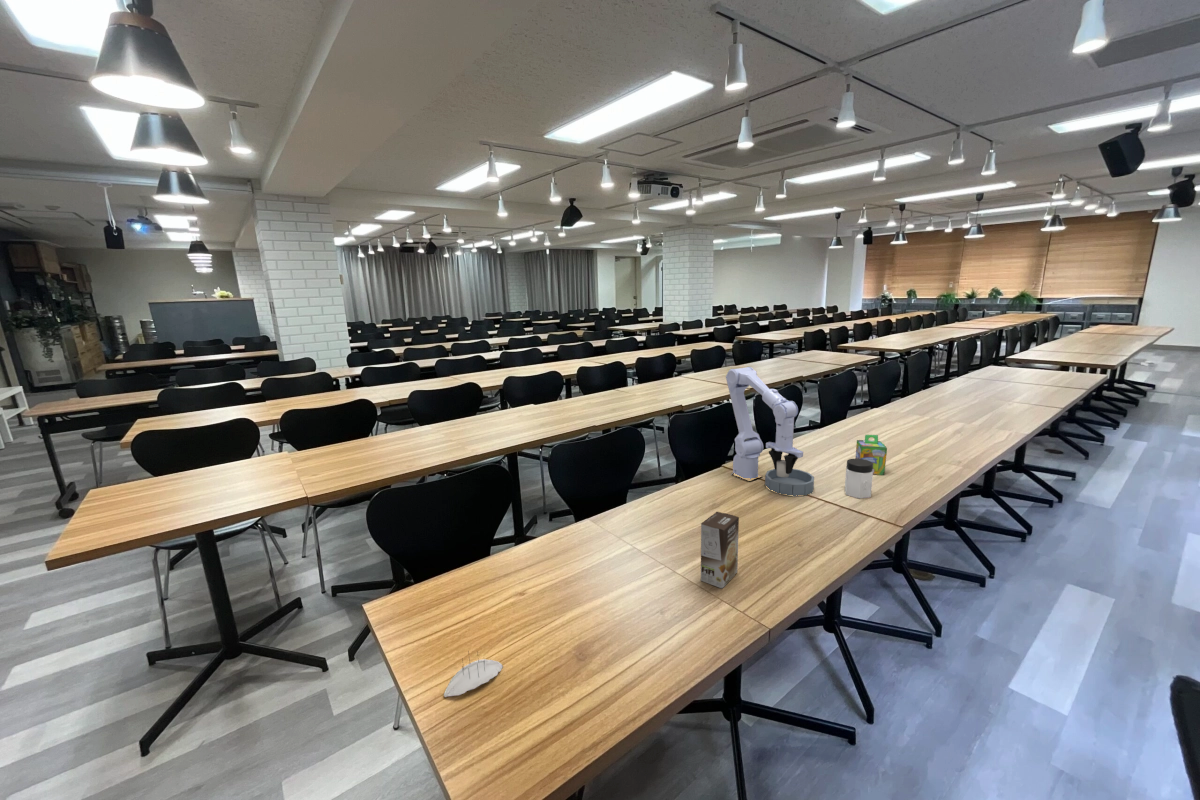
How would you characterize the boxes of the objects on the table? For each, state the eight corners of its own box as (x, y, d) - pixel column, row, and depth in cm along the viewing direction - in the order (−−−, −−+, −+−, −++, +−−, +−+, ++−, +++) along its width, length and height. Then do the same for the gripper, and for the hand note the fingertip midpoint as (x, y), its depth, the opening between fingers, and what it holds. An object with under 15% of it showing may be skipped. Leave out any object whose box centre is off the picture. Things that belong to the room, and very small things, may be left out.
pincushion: (450, 709, 86) (446, 683, 85) (439, 688, 91) (435, 663, 90) (509, 676, 93) (507, 651, 92) (496, 658, 98) (493, 635, 97)
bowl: (756, 485, 179) (756, 474, 178) (784, 475, 187) (785, 465, 186) (793, 500, 165) (794, 488, 164) (822, 489, 173) (823, 477, 172)
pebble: (773, 474, 171) (774, 461, 170) (781, 471, 173) (782, 459, 172) (783, 478, 167) (784, 464, 166) (791, 475, 170) (792, 462, 169)
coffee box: (723, 589, 117) (723, 530, 114) (699, 580, 121) (700, 523, 118) (738, 572, 124) (739, 516, 120) (715, 564, 128) (716, 510, 124)
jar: (853, 499, 164) (855, 467, 161) (838, 490, 171) (840, 459, 169) (877, 497, 165) (879, 464, 162) (861, 488, 173) (863, 457, 170)
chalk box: (859, 474, 186) (861, 438, 183) (854, 466, 195) (856, 431, 191) (885, 475, 183) (888, 439, 180) (879, 467, 192) (882, 432, 189)
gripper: (760, 432, 171) (759, 467, 174) (794, 442, 159) (792, 479, 162) (773, 429, 175) (772, 463, 178) (807, 438, 163) (805, 475, 165)
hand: (783, 471), depth 170 cm, fingers closed on pebble, 4 cm apart
